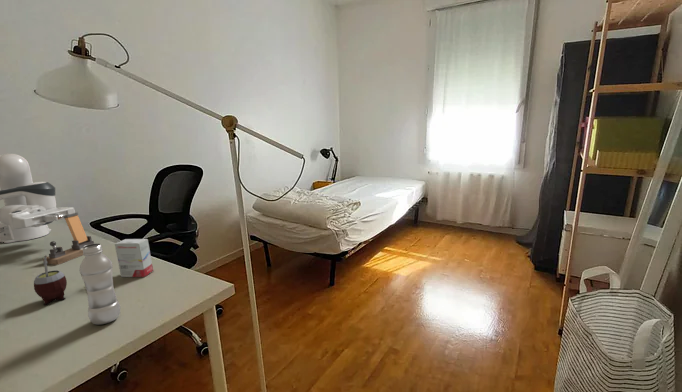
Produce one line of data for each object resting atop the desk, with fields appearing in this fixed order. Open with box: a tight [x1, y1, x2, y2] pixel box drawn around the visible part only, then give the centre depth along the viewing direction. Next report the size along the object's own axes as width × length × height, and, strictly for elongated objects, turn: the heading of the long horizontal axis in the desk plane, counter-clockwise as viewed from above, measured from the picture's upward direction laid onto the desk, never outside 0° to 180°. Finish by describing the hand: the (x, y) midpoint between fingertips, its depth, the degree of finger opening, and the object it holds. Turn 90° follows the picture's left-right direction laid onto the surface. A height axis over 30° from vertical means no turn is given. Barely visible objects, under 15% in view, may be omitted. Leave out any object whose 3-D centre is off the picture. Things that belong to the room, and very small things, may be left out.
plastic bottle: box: [79, 242, 121, 326], centre depth 82 cm, size 6×7×20 cm
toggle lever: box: [49, 240, 57, 251], centre depth 125 cm, size 2×2×4 cm
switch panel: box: [42, 235, 95, 266], centre depth 130 cm, size 7×16×6 cm, turn 167°
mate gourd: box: [33, 255, 68, 306], centre depth 94 cm, size 8×8×15 cm
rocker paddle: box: [63, 211, 88, 243], centre depth 134 cm, size 2×4×12 cm, turn 167°
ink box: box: [114, 238, 154, 278], centre depth 110 cm, size 9×5×12 cm, turn 84°
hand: (60, 217), depth 133 cm, fingers closed
